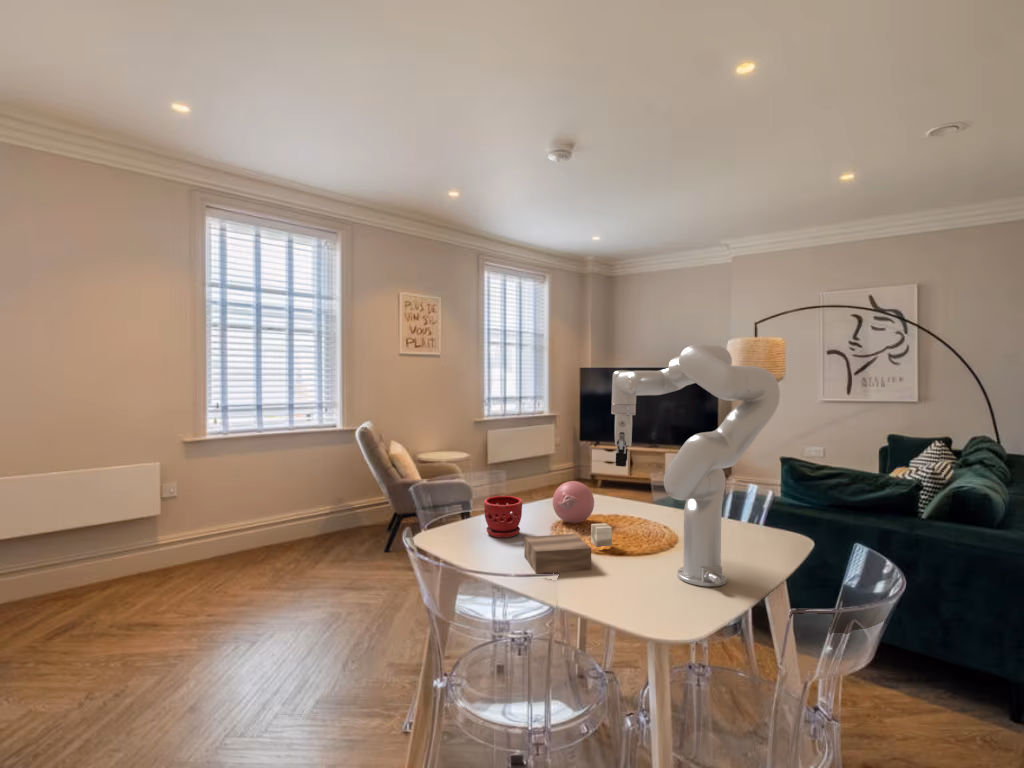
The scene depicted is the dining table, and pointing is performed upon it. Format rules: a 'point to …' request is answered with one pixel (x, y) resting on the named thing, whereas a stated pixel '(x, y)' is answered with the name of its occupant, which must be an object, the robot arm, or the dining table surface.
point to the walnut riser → (557, 553)
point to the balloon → (573, 502)
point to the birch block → (601, 535)
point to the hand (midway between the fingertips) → (621, 463)
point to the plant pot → (503, 515)
